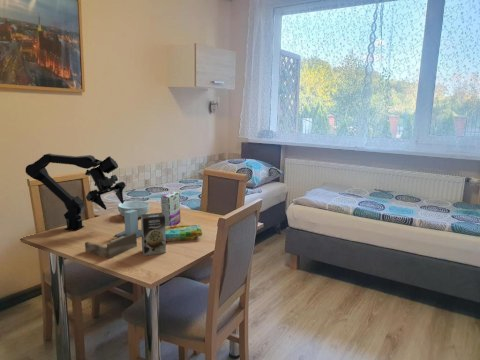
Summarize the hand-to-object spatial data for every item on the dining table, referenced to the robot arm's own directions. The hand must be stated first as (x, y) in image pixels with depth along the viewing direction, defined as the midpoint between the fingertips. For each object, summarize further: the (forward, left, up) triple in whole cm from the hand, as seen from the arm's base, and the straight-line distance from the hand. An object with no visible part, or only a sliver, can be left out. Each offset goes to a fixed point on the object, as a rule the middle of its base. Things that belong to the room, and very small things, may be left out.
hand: (114, 206), depth 170 cm
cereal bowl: (-5, +25, -13) cm, 29 cm away
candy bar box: (+20, +18, -13) cm, 30 cm away
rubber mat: (+9, -1, -13) cm, 16 cm away
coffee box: (+29, -16, -13) cm, 36 cm away
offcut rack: (+11, -19, -13) cm, 25 cm away
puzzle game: (+32, +3, -14) cm, 35 cm away
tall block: (+9, -1, -12) cm, 15 cm away
